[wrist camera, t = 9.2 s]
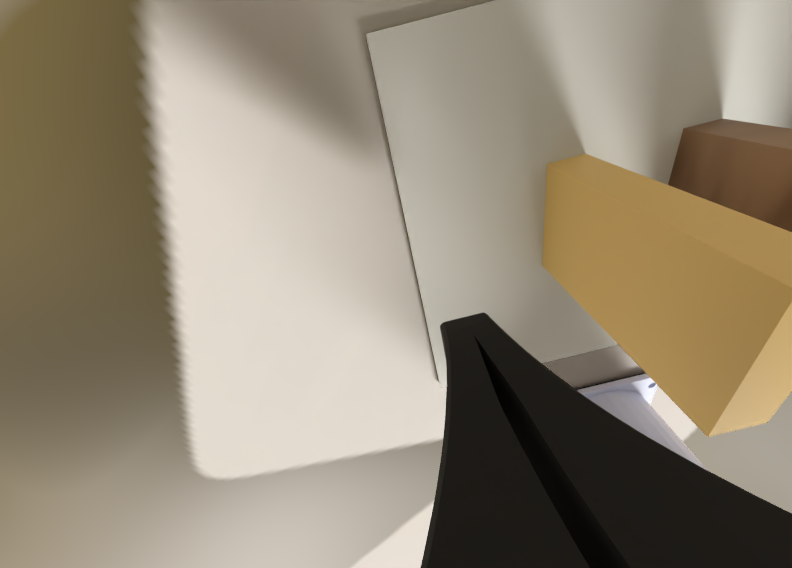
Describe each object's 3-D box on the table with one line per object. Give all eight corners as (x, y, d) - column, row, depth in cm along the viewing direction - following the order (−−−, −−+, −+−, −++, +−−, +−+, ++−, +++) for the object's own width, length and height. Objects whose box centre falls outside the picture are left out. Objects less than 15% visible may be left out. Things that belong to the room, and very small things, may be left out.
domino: (574, 257, 16) (766, 422, 9) (542, 265, 16) (707, 437, 9) (585, 153, 13) (886, 268, 6) (547, 163, 13) (798, 290, 6)
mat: (957, 257, 20) (967, 260, 20) (439, 382, 21) (440, 387, 20) (1407, -238, 10) (1443, -248, 10) (365, 34, 11) (366, 33, 10)
